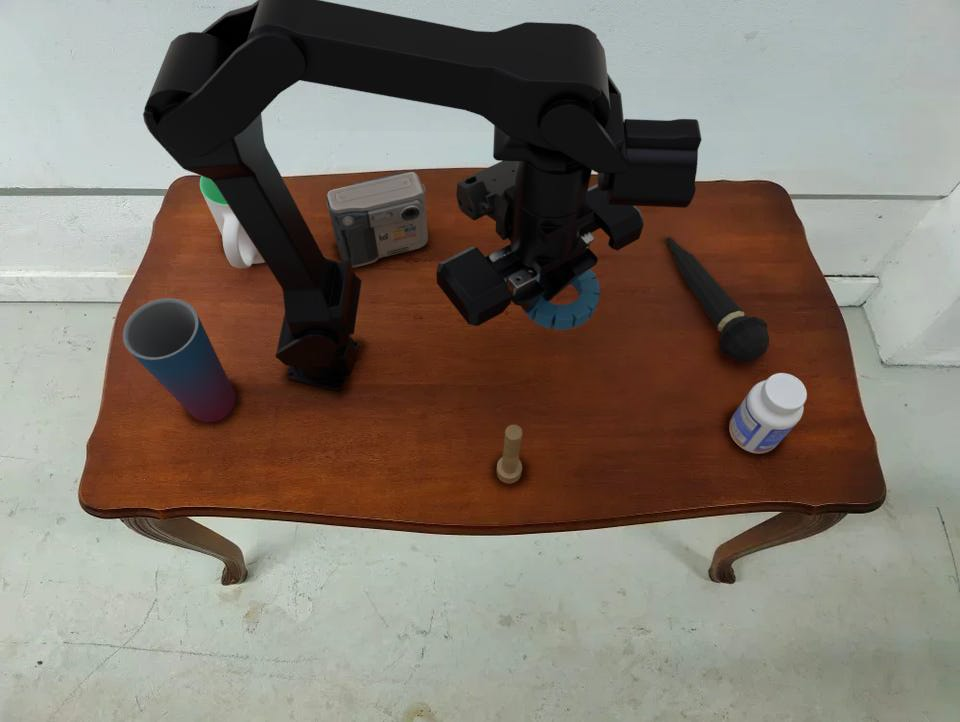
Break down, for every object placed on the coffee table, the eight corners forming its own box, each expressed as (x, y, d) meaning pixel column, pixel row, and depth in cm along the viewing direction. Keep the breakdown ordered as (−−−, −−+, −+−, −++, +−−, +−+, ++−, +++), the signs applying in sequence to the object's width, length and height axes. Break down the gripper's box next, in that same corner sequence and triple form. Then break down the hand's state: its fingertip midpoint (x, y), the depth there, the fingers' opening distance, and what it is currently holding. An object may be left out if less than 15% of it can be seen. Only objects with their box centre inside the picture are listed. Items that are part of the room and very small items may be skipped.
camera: (343, 272, 87) (329, 217, 78) (335, 238, 90) (320, 180, 81) (433, 252, 89) (429, 196, 80) (422, 219, 92) (417, 161, 83)
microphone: (651, 263, 92) (735, 379, 81) (645, 235, 87) (733, 354, 76) (689, 243, 92) (779, 357, 80) (686, 214, 87) (780, 331, 75)
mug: (284, 288, 86) (262, 232, 77) (217, 290, 86) (188, 233, 77) (294, 213, 92) (275, 153, 83) (232, 215, 92) (205, 154, 83)
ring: (522, 331, 69) (523, 321, 67) (516, 267, 73) (517, 256, 71) (601, 328, 69) (604, 318, 68) (591, 265, 73) (593, 254, 72)
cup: (231, 434, 76) (181, 365, 63) (171, 424, 76) (109, 353, 64) (252, 380, 79) (209, 303, 66) (195, 370, 80) (141, 292, 67)
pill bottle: (783, 421, 77) (821, 378, 69) (771, 462, 75) (809, 423, 67) (734, 402, 79) (765, 357, 70) (721, 443, 76) (752, 401, 68)
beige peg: (493, 480, 74) (496, 441, 65) (499, 457, 75) (503, 416, 66) (518, 486, 73) (524, 447, 65) (523, 463, 75) (530, 423, 66)
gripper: (582, 91, 62) (561, 213, 75) (397, 174, 57) (410, 289, 70) (665, 169, 57) (628, 284, 71) (472, 268, 52) (471, 372, 65)
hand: (534, 304), depth 69 cm, fingers closed on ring, 2 cm apart
